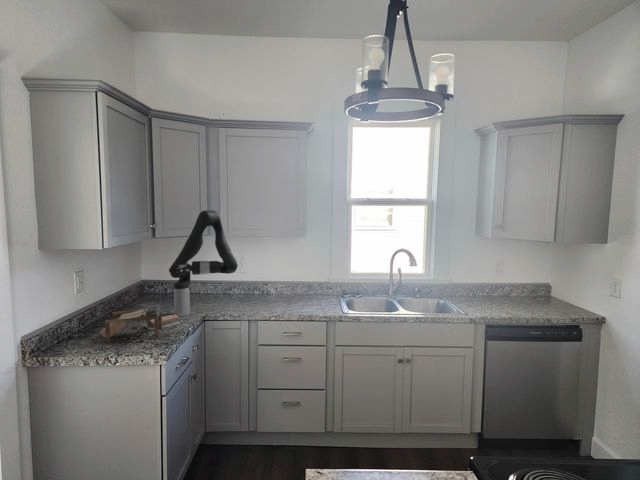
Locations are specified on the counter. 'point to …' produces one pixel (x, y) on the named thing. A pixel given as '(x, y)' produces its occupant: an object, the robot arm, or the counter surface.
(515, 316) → the counter surface
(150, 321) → the packaged product
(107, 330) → the wooden legged stool
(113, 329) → the block
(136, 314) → the trapdoor
